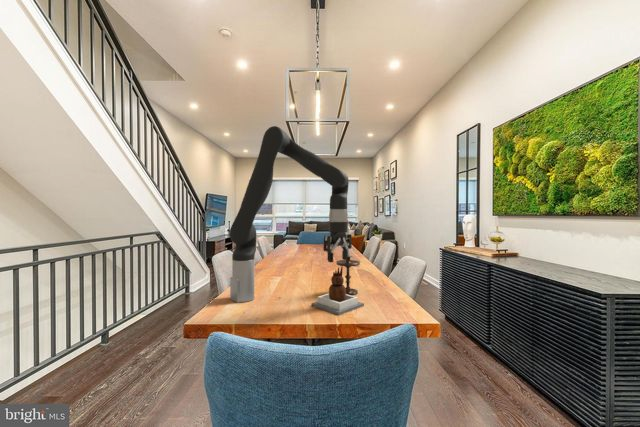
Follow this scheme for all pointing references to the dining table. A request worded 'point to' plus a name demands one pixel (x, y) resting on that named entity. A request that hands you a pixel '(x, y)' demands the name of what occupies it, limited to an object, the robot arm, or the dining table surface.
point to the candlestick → (348, 264)
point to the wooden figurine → (337, 287)
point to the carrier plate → (337, 304)
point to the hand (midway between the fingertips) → (337, 260)
